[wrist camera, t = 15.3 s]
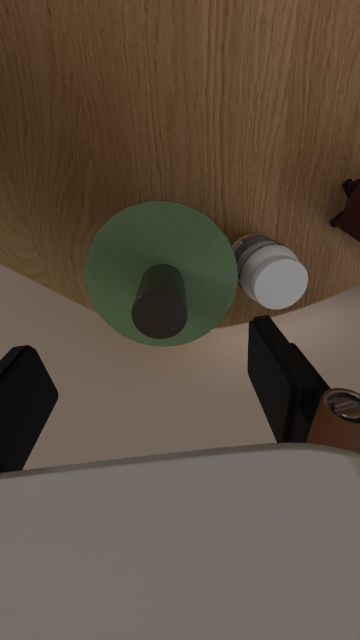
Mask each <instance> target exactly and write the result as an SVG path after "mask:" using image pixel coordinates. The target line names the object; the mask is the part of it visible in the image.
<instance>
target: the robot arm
mask: <svg viewBox="0 0 360 640" xmlns="http://www.w3.org/2000/svg"><path fill="white" fill-rule="evenodd" d="M248 374H249V378H250V380H251V382H252V385H253V387H254V389H255V391H256V394H257V396H258V399H259V401H260V403H261V406H262V408H263V411H264V413H265V415H266V417H267V420H268V422H269V425H270V427H271V429H272V432H273V434H274V436H275V439H276V441H277V443H269V444H255V445H246V446H234V447H223V448H214V449H205V450H195V451H186V452H177V453H168V454H160V455H150V456H141V457H133V458H123V459H114V460H106V461H98V462H89V463H80V464H71V465H64V466H54V467H47V468H38V469H31V470H22V469H23V467H24V465H25V463H26V461H27V459H28V457H29V455H30V452H31V451H32V449H33V447H34V445H35V443H36V441H37V439H38V437H39V435H40V433H41V431H42V429H43V427H44V425H45V423H46V422H47V419H48V418H49V416H50V414H51V412H52V410H53V408H54V406H55V404H56V402H57V399H58V391H57V389H56V387H55V386H54V384H53V382H52V380H51V378H50V376H49V374H48V372H47V370H46V368H45V366H44V364H43V362H42V361H41V359H40V357H39V355H38V353H37V351H36V349H34V348H32V347H31V346H29V345H26V346H17V347H13V348H12V349H11V350H10V351H9V352H8V353H7V354H6V355H5V356H4V357H3V358H2V359H1V360H0V640H360V394H359V393H357V392H355V391H352V390H348V389H344V388H333V389H331V388H330V387H329V386H328V385H327V383H326V382H325V381H324V380H323V378H322V377H321V376H320V375H319V373H318V372H317V371H316V370H315V368H314V367H313V366H312V365H311V363H310V362H309V361H308V360H307V359H306V357H305V356H304V355H303V353H302V352H301V351H300V350H299V348H298V347H297V346H296V345H295V344H294V343H289V342H288V340H287V339H286V338H285V337H284V335H283V334H282V333H281V331H280V330H279V329H278V327H277V326H276V325H275V323H274V322H273V321H272V320H271V318H270V317H269V316H268V315H266V316H258V317H254V318H253V321H250V322H249V340H248Z"/></svg>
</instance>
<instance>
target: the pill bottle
mask: <svg viewBox="0 0 360 640" xmlns="http://www.w3.org/2000/svg"><path fill="white" fill-rule="evenodd" d="M232 249H233V251H234V254H235V258H236V262H237V270H238V281H237V282H238V284H239V285H240V287H241V288H242V290H243V291H244V293H245V294H246V295H247V296H248V297H250V298H251V299H253V300H256V301H258V302H259V303H260V304H261V305H262V306H264V307H266V308H268V309H275V310H276V309H283V308H286V307H289V306H291V305H293V304H294V303H295V302H297V301H298V300H299V299H300V298H301V297H302V295H303V294H304V292H305V290H306V288H307V285H308V274H307V271H306V269H305V267H304V266H303V265H302V264H301V263H300V262H299V261H298V259H297V257H296V255H295V254H294V253H293V251H292V250H290V249H289V248H288V247H286V246H284V245H282V244H280V243H278V242H276V241H274V240H272V239H270V238H268V237H266V236H263V235H260V234H249V235H246V236H243V237H242V238H240V239H238V240H237V241H236V242H235V243H234V245H233V246H232Z"/></svg>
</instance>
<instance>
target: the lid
mask: <svg viewBox="0 0 360 640" xmlns="http://www.w3.org/2000/svg"><path fill="white" fill-rule="evenodd" d="M85 276H86V284H87V288H88V292H89V295H90V298H91V300H92V303H93V305H94V306H95V308H96V310H97V311H98V313H99V314H100V316H101V317H102V318H103V319H104V320H105V321H106V322H107V324H108V325H109V326H111V327H112V328H113V329H114V330H116V331H117V332H119V333H120V334H121V335H123V336H125V337H127V338H129V339H131V340H134V341H136V342H139V343H142V344H146V345H152V346H176V345H181V344H185V343H188V342H191V341H193V340H196V339H198V338H200V337H202V336H203V335H205V334H206V333H208V332H209V331H211V330H212V329H213V328H214V327H215V326H216V325H218V323H219V322H220V321H221V320H222V319H223V318H224V316H225V315H226V313H227V312H228V310H229V308H230V306H231V304H232V302H233V299H234V296H235V293H236V288H237V281H238V270H237V262H236V258H235V254H234V251H233V249H232V246H231V244H230V242H229V240H228V239H227V237H226V236H225V234H224V233H223V231H222V230H221V229H220V228H219V227H218V226H217V225H216V224H215V223H214V221H212V220H211V219H210V218H209V217H207V216H206V215H205V214H203V213H202V212H200V211H198V210H196V209H195V208H192V207H190V206H187V205H185V204H181V203H177V202H173V201H162V200H159V201H147V202H143V203H138V204H136V205H133V206H130V207H128V208H126V209H124V210H122V211H120V212H119V213H117V214H116V215H114V216H113V217H112V218H110V219H109V220H108V221H107V222H106V223H105V224H104V225H103V226H102V227H101V229H100V230H99V231H98V233H97V234H96V236H95V237H94V239H93V241H92V243H91V246H90V248H89V252H88V255H87V260H86V271H85Z"/></svg>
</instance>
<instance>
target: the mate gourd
mask: <svg viewBox="0 0 360 640" xmlns="http://www.w3.org/2000/svg"><path fill="white" fill-rule="evenodd" d="M342 186H343V188H344V190H345V193H346V195H347V197H348V200H347V202H346V205H345V208H344V211H342V212H341V213H340V214H338V215H337V216H336V217H335V218H333V219H332V220H331V221H330V225H331V226H332V227H336V226H338V227H339V228H340V229H341V230H342V231H344V232H346V233H348V234H349V235H351V236H352V237H353V238H355V239H356V240H358V241H359V242H360V178H359V179H357V180H355V181H352V179H348V180H346V181H345V182H344V183H343V184H342Z"/></svg>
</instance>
